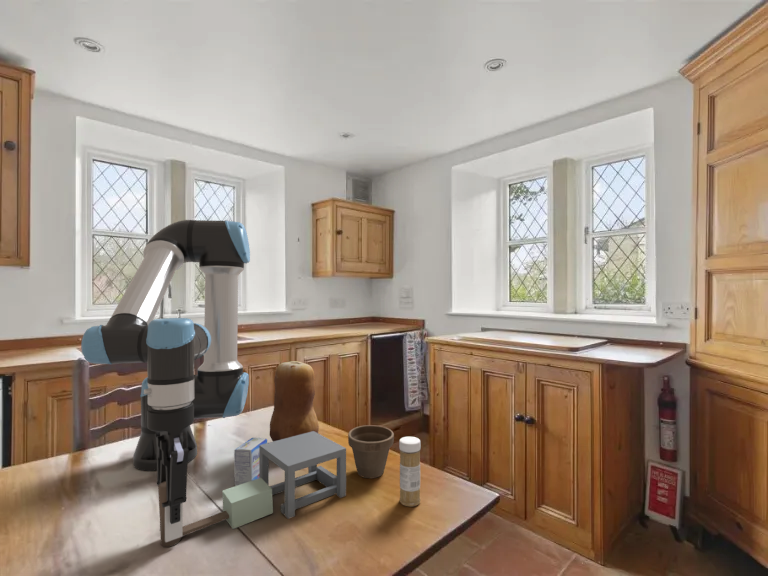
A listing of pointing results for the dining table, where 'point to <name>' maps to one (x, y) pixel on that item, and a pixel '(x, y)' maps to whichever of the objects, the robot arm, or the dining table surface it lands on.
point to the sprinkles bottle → (409, 471)
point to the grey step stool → (299, 456)
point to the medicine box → (247, 460)
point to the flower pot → (370, 449)
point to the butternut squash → (293, 401)
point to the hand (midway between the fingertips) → (171, 533)
